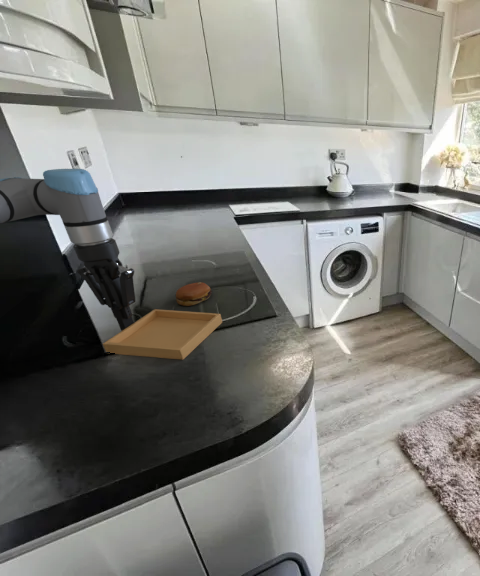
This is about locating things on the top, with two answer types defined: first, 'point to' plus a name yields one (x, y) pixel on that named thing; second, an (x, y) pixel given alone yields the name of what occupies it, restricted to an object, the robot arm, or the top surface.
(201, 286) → the burger
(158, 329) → the tray
